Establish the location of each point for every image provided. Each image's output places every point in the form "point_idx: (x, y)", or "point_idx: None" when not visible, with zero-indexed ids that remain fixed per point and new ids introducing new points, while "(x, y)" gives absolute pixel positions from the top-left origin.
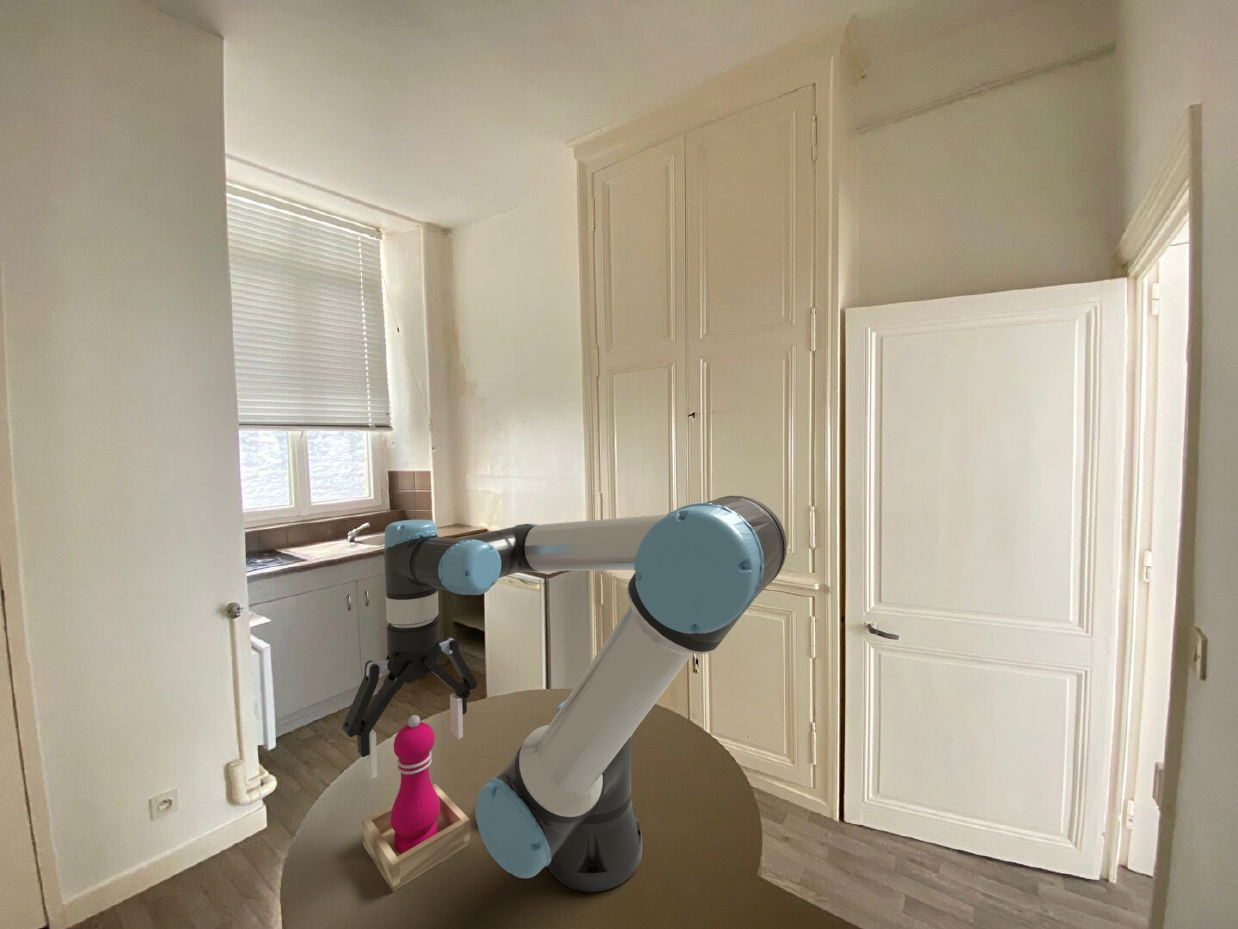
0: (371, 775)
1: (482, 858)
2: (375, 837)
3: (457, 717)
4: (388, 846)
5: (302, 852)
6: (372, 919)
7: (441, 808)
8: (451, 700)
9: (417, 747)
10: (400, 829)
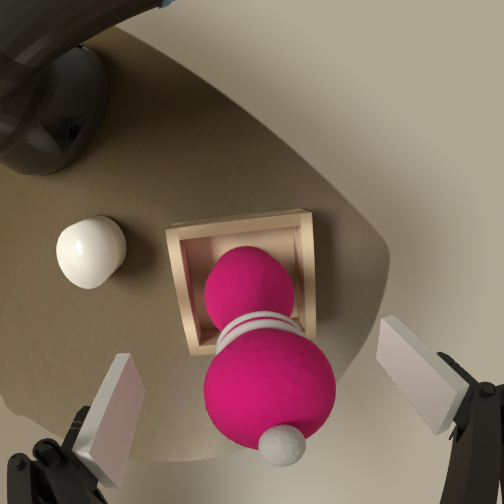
0: (397, 320)
1: (169, 182)
2: (313, 291)
3: (112, 404)
4: (304, 258)
5: (360, 346)
6: (331, 184)
7: (194, 306)
8: (119, 469)
9: (286, 347)
10: (285, 269)
